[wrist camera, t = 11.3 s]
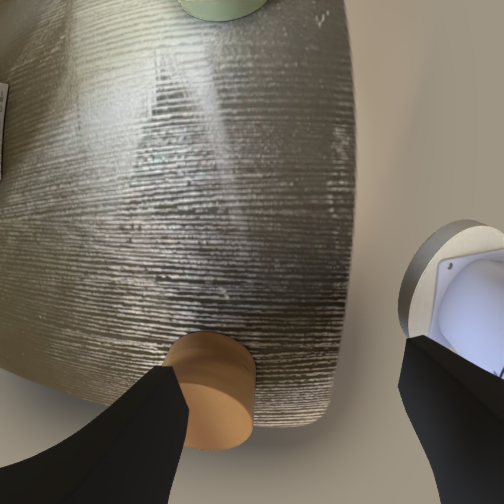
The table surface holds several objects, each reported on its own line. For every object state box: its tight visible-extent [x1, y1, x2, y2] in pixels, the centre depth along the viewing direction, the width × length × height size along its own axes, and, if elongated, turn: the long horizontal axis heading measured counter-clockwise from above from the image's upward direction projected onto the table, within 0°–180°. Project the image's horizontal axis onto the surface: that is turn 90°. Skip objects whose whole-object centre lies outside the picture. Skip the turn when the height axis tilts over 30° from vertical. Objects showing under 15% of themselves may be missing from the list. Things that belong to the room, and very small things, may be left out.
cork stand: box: [162, 332, 256, 450], centre depth 18 cm, size 7×7×6 cm
